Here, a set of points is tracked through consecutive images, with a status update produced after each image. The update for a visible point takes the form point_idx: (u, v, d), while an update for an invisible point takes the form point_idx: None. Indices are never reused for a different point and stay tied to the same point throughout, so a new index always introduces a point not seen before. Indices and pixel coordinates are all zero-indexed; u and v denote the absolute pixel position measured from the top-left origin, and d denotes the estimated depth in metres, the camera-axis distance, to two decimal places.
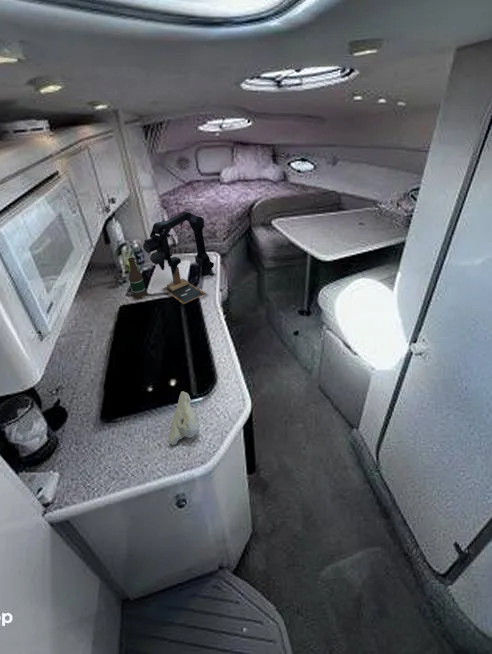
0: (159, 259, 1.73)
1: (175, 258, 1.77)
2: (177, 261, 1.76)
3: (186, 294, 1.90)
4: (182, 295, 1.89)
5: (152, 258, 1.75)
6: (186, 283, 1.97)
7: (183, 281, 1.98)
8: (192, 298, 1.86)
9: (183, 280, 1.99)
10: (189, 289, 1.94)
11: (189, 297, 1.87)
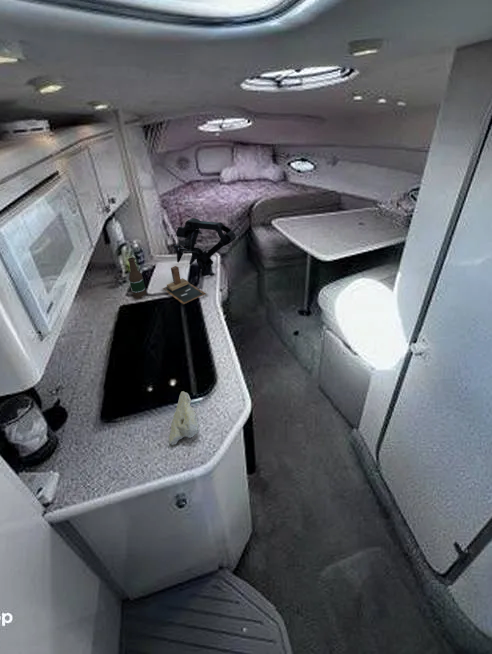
0: (189, 241, 1.92)
1: None
2: (201, 251, 1.96)
3: (186, 294, 1.90)
4: (182, 295, 1.89)
5: (181, 240, 1.93)
6: (186, 283, 1.97)
7: (183, 281, 1.98)
8: (192, 298, 1.86)
9: (183, 280, 1.99)
10: (189, 289, 1.94)
11: (189, 297, 1.87)
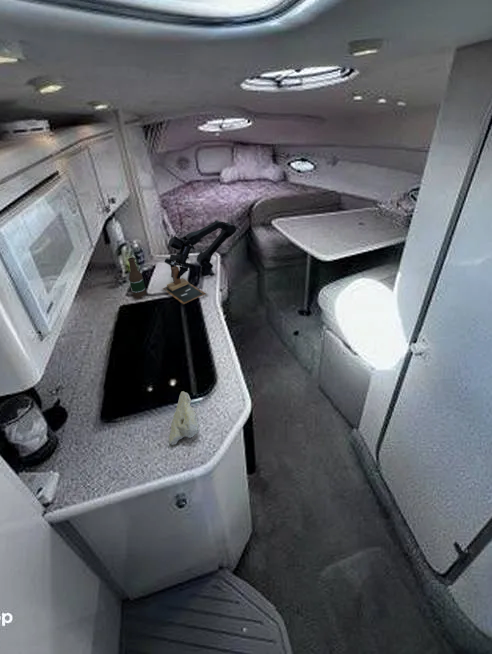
0: (180, 256, 1.88)
1: None
2: (193, 267, 1.91)
3: (186, 294, 1.90)
4: (182, 295, 1.89)
5: (173, 254, 1.89)
6: (186, 283, 1.97)
7: (183, 281, 1.98)
8: (192, 298, 1.86)
9: (183, 280, 1.99)
10: (189, 289, 1.94)
11: (189, 297, 1.87)
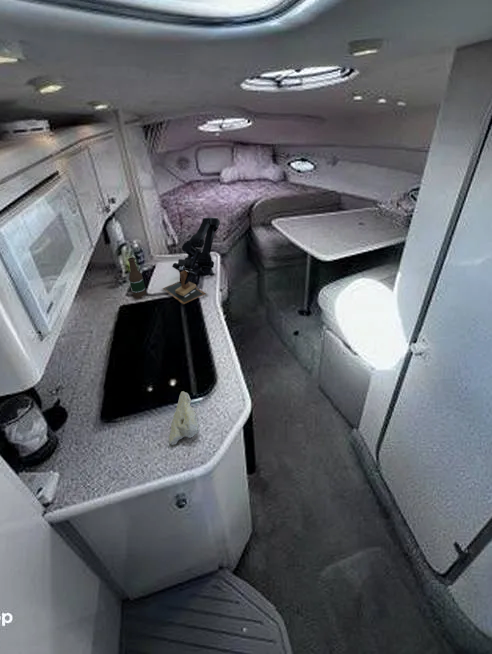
0: (189, 261, 1.81)
1: (200, 270, 1.86)
2: (201, 272, 1.85)
3: (189, 294, 1.89)
4: (186, 296, 1.87)
5: (181, 259, 1.83)
6: (194, 286, 1.93)
7: (191, 284, 1.93)
8: (192, 298, 1.86)
9: (190, 283, 1.94)
10: (194, 290, 1.92)
11: (189, 297, 1.87)
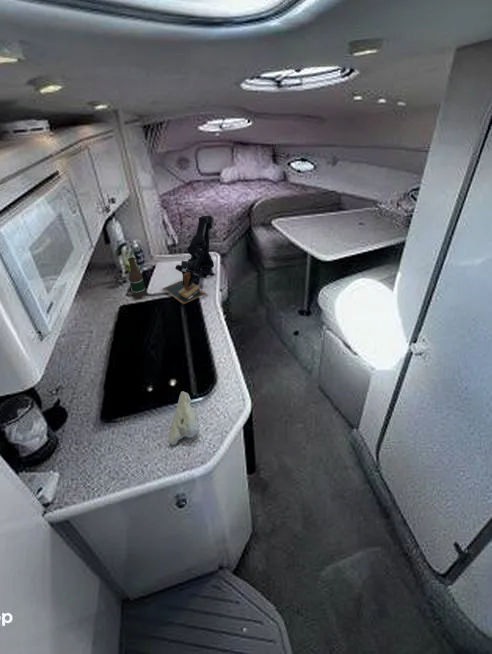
0: (192, 263, 1.79)
1: None
2: (205, 274, 1.83)
3: (192, 296, 1.87)
4: (189, 298, 1.86)
5: (184, 261, 1.80)
6: (197, 288, 1.91)
7: (194, 286, 1.91)
8: (192, 298, 1.86)
9: (193, 285, 1.91)
10: None
11: None
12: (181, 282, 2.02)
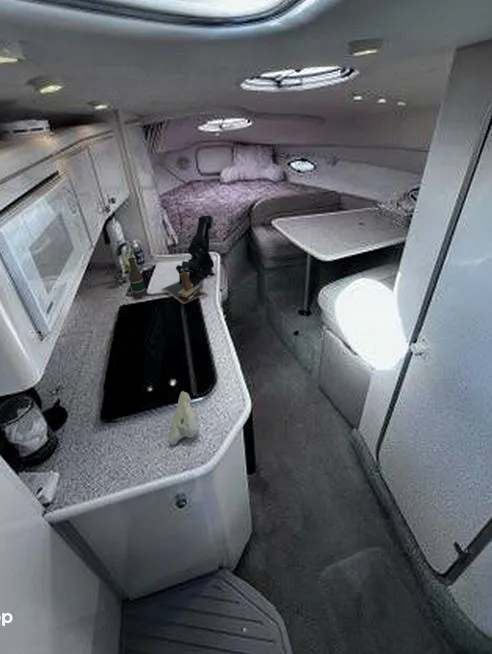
0: (193, 263, 1.79)
1: None
2: (206, 274, 1.83)
3: (192, 296, 1.87)
4: (189, 298, 1.86)
5: (185, 261, 1.80)
6: (197, 287, 1.91)
7: None
8: (192, 298, 1.86)
9: (192, 285, 1.92)
10: (196, 291, 1.91)
11: (189, 297, 1.87)
12: None
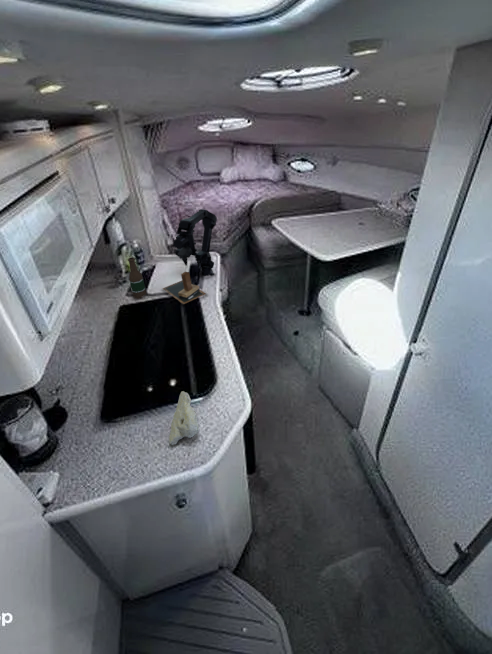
0: (188, 254, 1.81)
1: (202, 252, 1.86)
2: (204, 255, 1.86)
3: (192, 296, 1.87)
4: (189, 298, 1.86)
5: (180, 254, 1.82)
6: (197, 288, 1.91)
7: (193, 286, 1.91)
8: (192, 298, 1.86)
9: (193, 285, 1.92)
10: None
11: (189, 297, 1.87)
12: (181, 282, 2.02)
